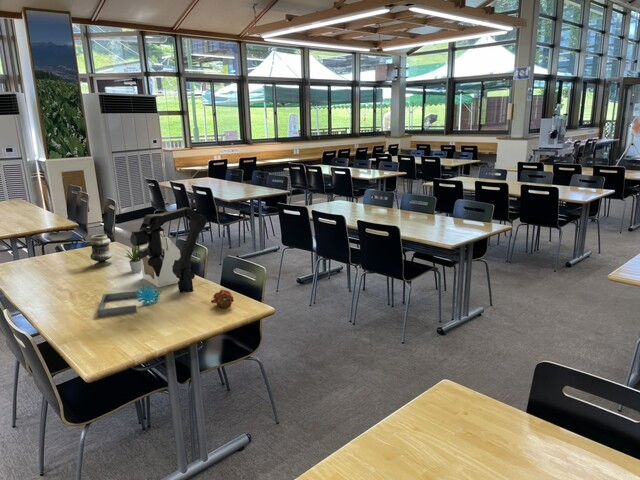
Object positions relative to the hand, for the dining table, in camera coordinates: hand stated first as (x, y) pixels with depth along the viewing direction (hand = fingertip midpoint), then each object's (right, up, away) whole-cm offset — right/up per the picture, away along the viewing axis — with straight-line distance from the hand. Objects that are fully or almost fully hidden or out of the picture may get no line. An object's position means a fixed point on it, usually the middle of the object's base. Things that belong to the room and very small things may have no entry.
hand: (158, 273), depth 219 cm
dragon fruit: (+32, -14, -9) cm, 37 cm away
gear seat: (-16, -14, -6) cm, 22 cm away
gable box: (-9, -6, +31) cm, 32 cm away
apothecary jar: (-55, +1, +61) cm, 83 cm away
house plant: (-28, -2, +47) cm, 55 cm away
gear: (-3, -14, -2) cm, 14 cm away
